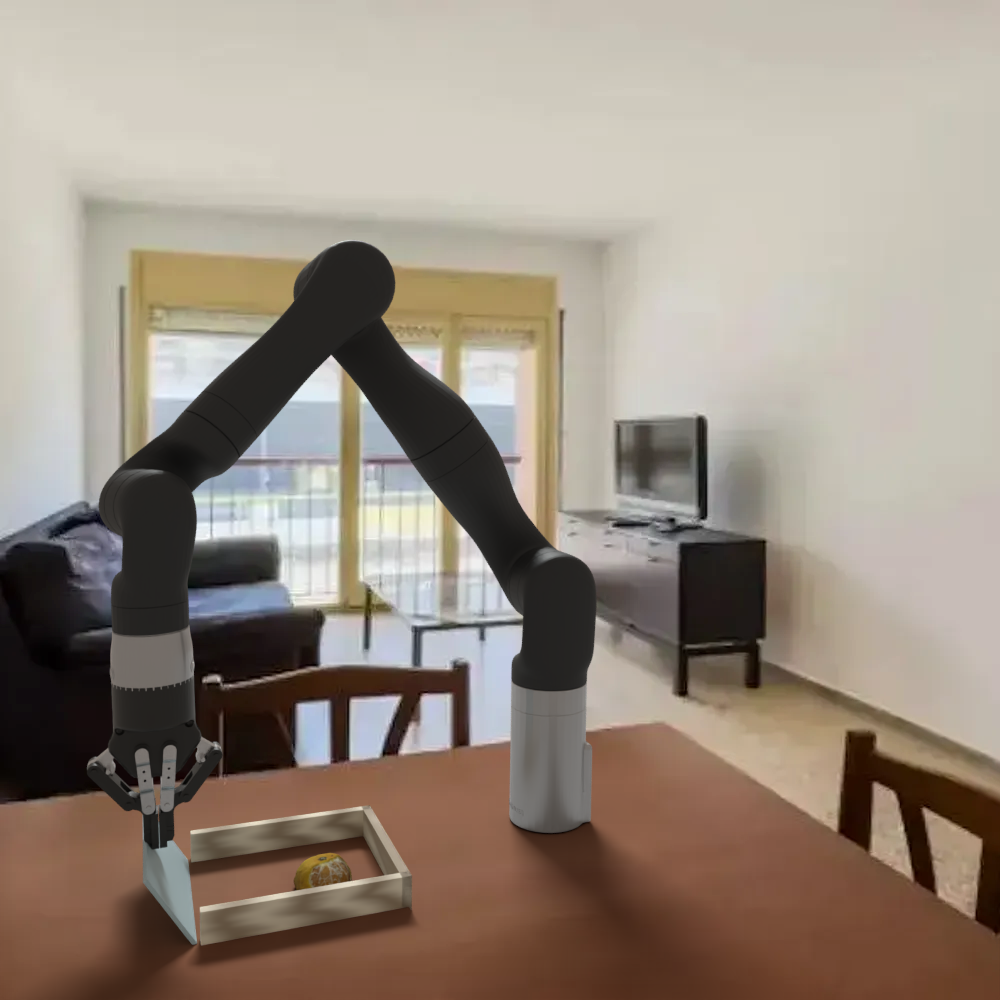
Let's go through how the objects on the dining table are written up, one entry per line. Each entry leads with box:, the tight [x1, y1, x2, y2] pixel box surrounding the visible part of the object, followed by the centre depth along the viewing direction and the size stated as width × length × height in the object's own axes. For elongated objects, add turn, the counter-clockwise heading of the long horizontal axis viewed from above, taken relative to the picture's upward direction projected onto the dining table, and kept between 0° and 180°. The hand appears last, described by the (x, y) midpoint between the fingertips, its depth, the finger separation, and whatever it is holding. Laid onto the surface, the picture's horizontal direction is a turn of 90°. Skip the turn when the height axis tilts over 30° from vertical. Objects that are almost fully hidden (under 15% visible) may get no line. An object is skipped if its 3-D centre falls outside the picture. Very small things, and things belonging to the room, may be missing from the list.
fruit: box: [293, 852, 353, 891], centre depth 94 cm, size 8×8×4 cm
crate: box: [189, 804, 413, 946], centre depth 96 cm, size 20×18×4 cm
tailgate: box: [142, 820, 198, 946], centre depth 91 cm, size 1×17×8 cm
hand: (159, 845), depth 90 cm, fingers closed
